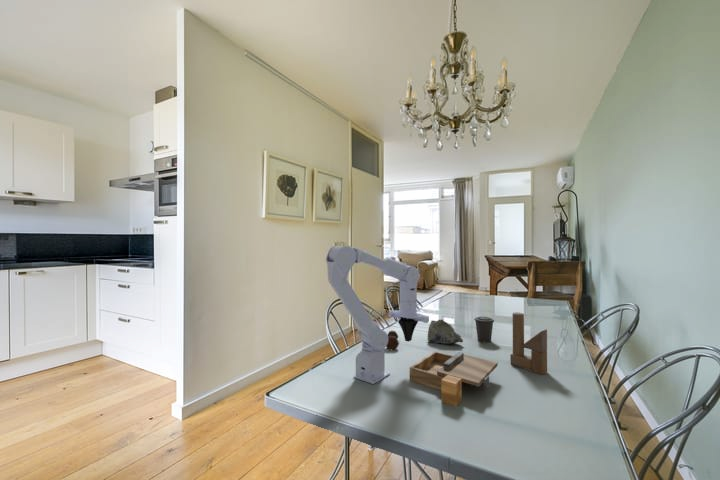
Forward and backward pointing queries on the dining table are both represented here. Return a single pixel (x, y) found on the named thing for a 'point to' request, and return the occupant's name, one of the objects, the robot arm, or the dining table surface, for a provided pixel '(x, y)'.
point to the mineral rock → (442, 333)
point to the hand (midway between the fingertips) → (408, 340)
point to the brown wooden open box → (429, 370)
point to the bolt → (392, 340)
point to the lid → (468, 369)
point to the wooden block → (528, 347)
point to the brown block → (451, 390)
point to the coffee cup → (484, 328)
